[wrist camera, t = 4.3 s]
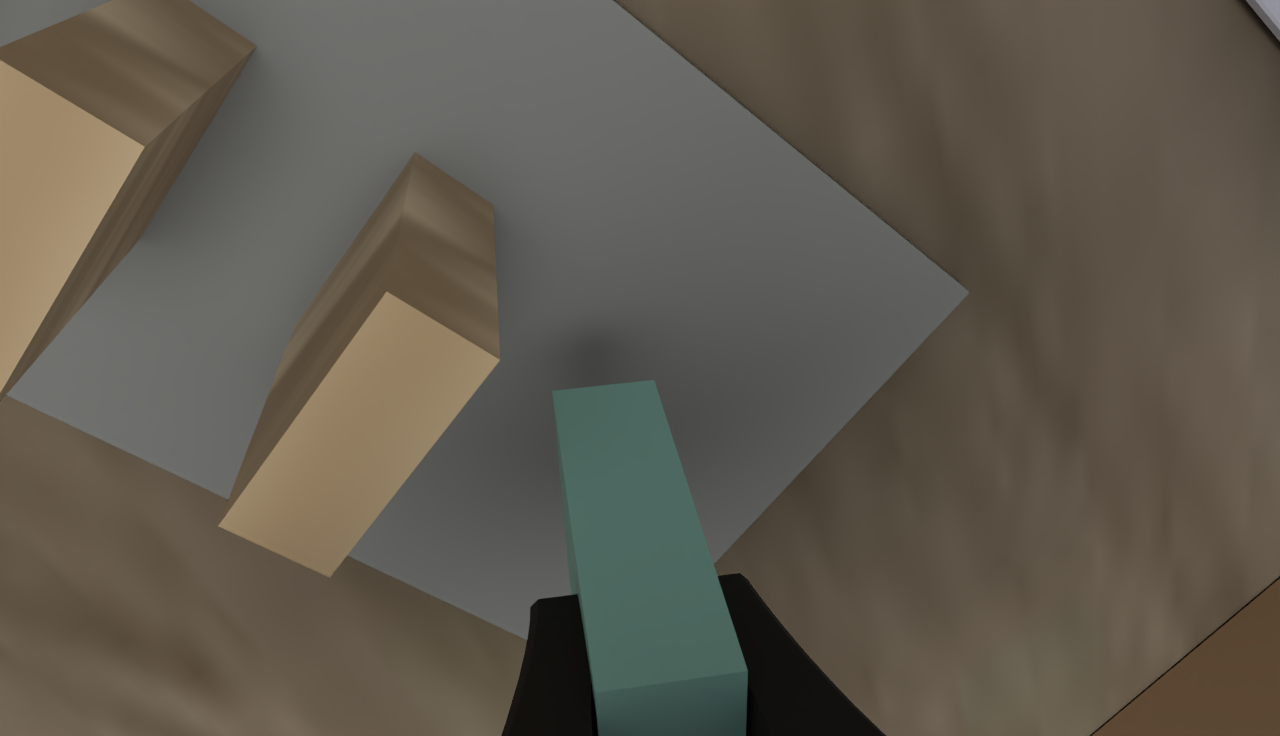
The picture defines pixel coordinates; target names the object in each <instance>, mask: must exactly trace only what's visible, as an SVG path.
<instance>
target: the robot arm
mask: <svg viewBox="0 0 1280 736" xmlns="http://www.w3.org/2000/svg"><path fill="white" fill-rule="evenodd" d="M1246 1H1247V3H1248V4H1249V5H1250V6H1251V7H1252V9H1253V10H1254V11H1255V12H1256V13H1257V15H1258V16H1259V17H1260V18H1261V19H1262V21H1263V22H1264V23H1265V24H1266V25H1267V27H1268V28H1269V29H1270V30H1271V32H1272V33H1273V34H1274V35H1275V36H1276V38H1277V39H1278V40H1279V41H1280V0H1246ZM717 577H718V580H719V583H720V586H721V589H722V592H723V595H724V598H725V601H726V604H727V608H728V611H729V614H730V617H731V620H732V623H733V626H734V629H735V632H736V635H737V639H738V642H739V645H740V648H741V651H742V654H743V657H744V660H745V663H746V666H747V670H748V685H747V718H746V736H886V735H885V734H884V733H883V732H881V731H880V730H879V729H878V728H877V727H876V726H875V725H874V724H873V723H872V722H871V721H870V720H869V719H868V718H867V717H866V716H865V715H864V714H863V713H862V712H861V711H860V710H859V709H858V708H857V707H856V706H855V705H854V704H853V703H852V702H851V701H850V700H849V699H848V698H847V697H846V696H845V695H844V694H843V693H842V692H841V691H840V690H839V689H838V688H837V687H836V686H835V684H834V683H833V682H832V681H831V680H830V679H829V678H828V677H827V676H826V675H825V673H824V672H823V671H822V670H821V669H820V668H819V667H818V666H817V665H816V664H815V663H814V661H813V660H812V659H811V658H810V657H809V656H808V655H807V654H806V653H805V651H804V650H803V649H802V648H801V647H800V646H799V644H798V643H797V642H796V641H795V640H794V639H793V637H792V636H791V635H790V634H789V632H788V631H787V630H786V629H785V628H784V626H783V625H782V624H781V623H780V622H779V620H778V619H777V618H776V617H775V615H774V614H773V613H772V612H771V610H770V609H769V608H768V606H767V605H766V604H765V603H764V601H763V600H762V599H761V597H760V596H759V595H758V593H757V592H756V591H755V589H754V588H753V586H752V585H751V584H750V582H749V581H748V579H746V578H745V577H744V576H743V575H741V574H740V573H738V574H730V575H722V576H717ZM502 736H596V731H595V719H594V708H593V696H592V684H591V674H590V667H589V661H588V654H587V648H586V641H585V635H584V629H583V622H582V616H581V610H580V604H579V598H578V594H574V595H566V596H559V597H551V598H543V599H538V600H537V601H536V602H535V603H534V604H533V605H532V606H531V607H530V624H529V632H528V639H527V645H526V650H525V655H524V659H523V663H522V668H521V672H520V676H519V680H518V684H517V687H516V690H515V694H514V697H513V700H512V704H511V707H510V711H509V714H508V717H507V721H506V724H505V727H504V730H503V733H502Z"/></svg>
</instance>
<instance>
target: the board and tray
mask: <svg viewBox="0 0 1280 736" xmlns="http://www.w3.org/2000/svg"><path fill="white" fill-rule="evenodd" d="M109 1H112V0H0V47H2V46H4V45H6V44H9V43H11V42H13V41H16V40H18V39H21V38H23V37H25V36H28V35H30V34H33V33H35V32H37V31H40V30H42V29H45V28H47V27H49V26H52V25H54V24H57V23H59V22H61V21H64V20H66V19H68V18H71V17H73V16H76V15H78V14H80V13H83V12H85V11H88V10H90V9H92V8H95V7H97V6H100V5H102V4H104V3H107V2H109ZM189 1H191V2H192V3H194V4H195V5H197V6H198V7H200V8H201V9H203V10H204V11H206V12H207V13H209V14H210V15H212V16H213V17H214V18H216V19H217V20H219V21H220V22H222V23H223V24H225V25H226V26H228V27H229V28H231V29H232V30H234V31H235V32H237V33H238V34H240V35H241V36H243V37H244V38H246V39H247V40H249V41H250V42H252V43H253V44H255V45H256V46H257V47H256V48H255V50H254V51H253V53H252V55H251V56H250V58H249V60H248V61H247V63H246V65H245V66H244V68H243V70H242V71H241V73H240V75H239V76H238V78H237V80H236V81H235V83H234V84H233V86H232V88H231V89H230V91H229V93H228V94H227V96H226V98H225V99H224V101H223V103H222V104H221V106H220V108H219V109H218V111H217V113H216V114H215V116H214V118H213V119H212V121H211V122H210V124H209V126H208V127H207V129H206V131H205V132H204V134H203V136H202V137H201V139H200V141H199V142H198V144H197V146H196V147H195V149H194V151H193V152H192V154H191V155H190V157H189V159H188V160H187V162H186V164H185V165H184V167H183V169H182V170H181V172H180V174H179V175H178V177H177V179H176V180H175V182H174V184H173V185H172V187H171V188H170V190H169V192H168V193H167V195H166V197H165V198H164V200H163V202H162V203H161V205H160V207H159V208H158V210H157V212H156V213H155V215H154V217H153V218H152V220H151V222H150V223H149V225H148V226H147V228H146V230H145V231H144V233H143V235H142V236H141V238H140V240H139V241H138V242H137V243H136V244H135V246H134V247H133V248H132V249H131V250H130V251H129V253H128V254H127V255H126V256H125V257H124V258H123V260H122V261H121V262H120V263H119V264H118V265H117V267H116V268H115V269H114V270H113V271H112V272H111V274H110V275H109V276H108V277H107V278H106V279H105V280H104V282H103V283H102V284H101V285H100V286H99V287H98V289H97V290H96V291H95V292H94V293H93V294H92V296H91V297H90V298H89V299H88V300H87V301H86V303H85V304H84V305H83V306H82V307H81V308H80V310H79V311H78V312H77V313H76V314H75V315H74V316H73V318H72V319H71V320H70V321H69V322H68V323H67V325H66V326H65V327H64V328H63V329H62V330H61V332H60V333H59V334H58V335H57V336H56V337H55V339H54V340H53V341H52V342H51V343H50V344H49V346H48V347H47V348H46V349H45V350H44V351H43V352H42V354H41V355H40V356H39V357H38V358H37V359H36V361H35V362H34V363H33V364H32V365H31V366H30V368H29V369H28V370H27V371H26V372H25V373H24V375H23V376H22V377H21V378H20V379H19V380H18V382H17V383H16V384H15V385H14V386H13V387H12V388H11V390H10V391H9V392H8V393H7V394H6V395H7V396H9V397H12V398H14V399H16V400H18V401H20V402H22V403H24V404H26V405H28V406H31V407H33V408H35V409H37V410H39V411H41V412H43V413H45V414H48V415H50V416H52V417H54V418H56V419H58V420H60V421H62V422H65V423H67V424H69V425H71V426H73V427H75V428H77V429H79V430H82V431H84V432H86V433H88V434H90V435H92V436H94V437H96V438H99V439H101V440H103V441H105V442H107V443H109V444H111V445H113V446H116V447H118V448H120V449H122V450H124V451H126V452H128V453H130V454H133V455H135V456H137V457H139V458H141V459H143V460H145V461H147V462H150V463H152V464H154V465H156V466H158V467H160V468H162V469H164V470H167V471H169V472H171V473H173V474H175V475H177V476H179V477H181V478H184V479H186V480H188V481H190V482H192V483H194V484H196V485H198V486H201V487H203V488H205V489H207V490H209V491H211V492H213V493H215V494H218V495H220V496H222V497H224V498H226V499H229V496H230V494H231V491H232V489H233V486H234V483H235V481H236V478H237V475H238V473H239V470H240V468H241V465H242V462H243V460H244V457H245V454H246V452H247V449H248V447H249V444H250V441H251V439H252V436H253V434H254V431H255V428H256V426H257V423H258V420H259V418H260V415H261V413H262V410H263V407H264V405H265V402H266V399H267V397H268V394H269V392H270V389H271V386H272V384H273V381H274V379H275V376H276V373H277V371H278V368H279V365H280V363H281V360H282V358H283V355H284V352H285V350H286V347H287V344H288V342H289V339H290V337H291V334H292V331H293V329H294V326H295V325H296V324H297V322H298V321H299V319H300V318H301V316H302V315H303V313H304V312H305V311H306V309H307V308H308V306H309V305H310V303H311V302H312V300H313V299H314V298H315V296H316V295H317V293H318V292H319V290H320V289H321V287H322V286H323V285H324V283H325V282H326V280H327V279H328V277H329V276H330V274H331V273H332V272H333V270H334V269H335V267H336V266H337V264H338V263H339V261H340V260H341V259H342V257H343V256H344V254H345V253H346V251H347V250H348V248H349V247H350V246H351V244H352V243H353V241H354V240H355V238H356V237H357V235H358V234H359V233H360V231H361V230H362V228H363V227H364V225H365V224H366V222H367V221H368V220H369V218H370V217H371V215H372V214H373V212H374V211H375V209H376V208H377V207H378V205H379V204H380V202H381V201H382V199H383V198H384V196H385V195H386V194H387V192H388V191H389V189H390V188H391V186H392V185H393V183H394V182H395V181H396V179H397V178H398V176H399V175H400V173H401V172H402V170H403V169H404V168H405V166H406V165H407V163H408V162H409V160H410V159H411V157H412V156H413V155H414V153H415V152H416V153H417V154H419V155H420V156H422V157H423V158H425V159H426V160H428V161H429V162H431V163H432V164H433V165H435V166H436V167H438V168H439V169H441V170H442V171H444V172H445V173H447V174H448V175H450V176H451V177H453V178H454V179H456V180H457V181H459V182H460V183H462V184H463V185H465V186H466V187H467V188H469V189H470V190H472V191H473V192H475V193H476V194H478V195H479V196H481V197H482V198H484V199H485V200H487V201H488V202H490V203H491V204H493V211H494V233H495V255H496V278H497V300H498V323H499V345H500V361H499V362H498V363H497V365H496V366H495V367H494V368H493V370H492V371H491V372H490V374H489V375H488V376H487V377H486V379H485V380H484V381H483V382H482V384H481V385H480V386H479V388H478V389H477V390H476V391H475V393H474V394H473V395H472V397H471V398H470V399H469V400H468V402H467V403H466V404H465V405H464V407H463V408H462V409H461V411H460V412H459V413H458V414H457V416H456V417H455V418H454V419H453V421H452V422H451V423H450V425H449V426H448V427H447V428H446V430H445V431H444V432H443V434H442V435H441V436H440V437H439V439H438V440H437V441H436V442H435V444H434V445H433V446H432V448H431V449H430V450H429V451H428V453H427V454H426V455H425V457H424V458H423V459H422V460H421V462H420V463H419V464H418V465H417V467H416V468H415V469H414V471H413V472H412V473H411V474H410V476H409V477H408V478H407V479H406V481H405V482H404V483H403V485H402V486H401V487H400V488H399V490H398V491H397V492H396V494H395V495H394V496H393V497H392V499H391V500H390V501H389V502H388V504H387V505H386V506H385V508H384V509H383V510H382V511H381V513H380V514H379V515H378V517H377V518H376V519H375V520H374V522H373V523H372V524H371V525H370V527H369V528H368V529H367V531H366V532H365V533H364V534H363V536H362V537H361V538H360V539H359V541H358V542H357V543H356V545H355V546H354V547H353V548H352V550H351V551H350V552H349V554H348V555H347V556H349V557H351V558H353V559H356V560H358V561H360V562H362V563H364V564H366V565H368V566H370V567H373V568H375V569H377V570H379V571H381V572H383V573H385V574H387V575H390V576H392V577H394V578H396V579H398V580H400V581H402V582H404V583H407V584H409V585H411V586H413V587H415V588H417V589H419V590H421V591H424V592H426V593H428V594H430V595H432V596H434V597H436V598H438V599H441V600H443V601H445V602H447V603H449V604H451V605H453V606H455V607H458V608H460V609H462V610H464V611H466V612H468V613H470V614H472V615H475V616H477V617H479V618H481V619H483V620H485V621H487V622H489V623H492V624H494V625H496V626H498V627H500V628H502V629H504V630H506V631H509V632H511V633H513V634H515V635H517V636H519V637H521V638H523V639H526V640H527V639H528V632H529V624H530V607H531V606H532V605H533V604H534V603H535V602H536V601H537V600H538V599H543V598H551V597H559V596H566V595H571V588H570V578H569V568H568V557H567V546H566V536H565V525H564V514H563V503H562V493H561V482H560V471H559V461H558V450H557V439H556V428H555V418H554V407H553V396H552V391H556V390H565V389H574V388H583V387H593V386H602V385H611V384H620V383H630V382H639V381H648V380H654V381H655V384H656V387H657V390H658V394H659V397H660V400H661V403H662V406H663V409H664V412H665V415H666V418H667V421H668V425H669V428H670V431H671V434H672V437H673V440H674V443H675V446H676V449H677V452H678V456H679V459H680V462H681V465H682V468H683V471H684V474H685V477H686V480H687V483H688V487H689V490H690V493H691V496H692V499H693V502H694V505H695V508H696V511H697V515H698V518H699V521H700V524H701V527H702V530H703V533H704V536H705V539H706V542H707V546H708V549H709V552H710V555H711V558H712V561H713V564H715V563H716V562H717V560H718V559H719V558H720V557H721V556H722V555H723V554H724V553H725V552H726V551H727V550H728V549H729V548H730V547H731V546H732V545H733V543H734V542H735V541H736V540H737V539H738V538H739V537H740V536H741V535H742V534H743V533H744V532H745V531H746V530H747V529H748V528H749V526H750V525H751V524H752V523H753V522H754V521H755V520H756V519H757V518H758V517H759V516H760V515H761V514H762V513H763V512H764V511H765V509H766V508H767V507H768V506H769V505H770V504H771V503H772V502H773V501H774V500H775V499H776V498H777V497H778V496H779V495H780V494H781V492H782V491H783V490H784V489H785V488H786V487H787V486H788V485H789V484H790V483H791V482H792V481H793V480H794V479H795V478H796V477H797V475H798V474H799V473H800V472H801V471H802V470H803V469H804V468H805V467H806V466H807V465H808V464H809V463H810V462H811V461H812V460H813V458H814V457H815V456H816V455H817V454H818V453H819V452H820V451H821V450H822V449H823V448H824V447H825V446H826V445H827V444H828V443H829V441H830V440H831V439H832V438H833V437H834V436H835V435H836V434H837V433H838V432H839V431H840V430H841V429H842V428H843V427H844V426H845V424H846V423H847V422H848V421H849V420H850V419H851V418H852V417H853V416H854V415H855V414H856V413H857V412H858V411H859V410H860V409H861V407H862V406H863V405H864V404H865V403H866V402H867V401H868V400H869V399H870V398H871V397H872V396H873V395H874V394H875V393H876V392H877V390H878V389H879V388H880V387H881V386H882V385H883V384H884V383H885V382H886V381H887V380H888V379H889V378H890V377H891V376H892V375H893V373H894V372H895V371H896V370H897V369H898V368H899V367H900V366H901V365H902V364H903V363H904V362H905V361H906V360H907V359H908V358H909V356H910V355H911V354H912V353H913V352H914V351H915V350H916V349H917V348H918V347H919V346H920V345H921V344H922V343H923V342H924V341H925V339H926V338H927V337H928V336H929V335H930V334H931V333H932V332H933V331H934V330H935V329H936V328H937V327H938V326H939V325H940V324H941V322H942V321H943V320H944V319H945V318H946V317H947V316H948V315H949V314H950V313H951V312H952V311H953V310H954V309H955V308H956V307H957V305H958V304H959V303H960V302H961V301H962V300H963V299H964V298H965V297H966V296H967V295H968V294H969V293H970V292H969V291H968V290H967V289H966V288H965V287H964V286H963V285H962V284H960V283H959V282H958V281H957V280H955V279H954V278H953V277H952V276H951V275H949V274H948V273H947V272H946V271H944V270H943V269H942V268H941V267H940V266H938V265H937V264H936V263H935V262H933V261H932V260H931V259H930V258H929V257H927V256H926V255H925V254H924V253H922V252H921V251H920V250H919V249H918V248H916V247H915V246H914V245H913V244H911V243H910V242H909V241H908V240H907V239H905V238H904V237H903V236H902V235H900V234H899V233H898V232H897V231H896V230H894V229H893V228H892V227H891V226H889V225H888V224H887V223H886V222H885V221H883V220H882V219H881V218H880V217H878V216H877V215H876V214H875V213H874V212H872V211H871V210H870V209H869V208H867V207H866V206H865V205H864V204H863V203H861V202H860V201H859V200H858V199H856V198H855V197H854V196H853V195H851V194H850V193H849V192H848V191H847V190H845V189H844V188H843V187H842V186H840V185H839V184H838V183H837V182H836V181H834V180H833V179H832V178H831V177H829V176H828V175H827V174H826V173H825V172H823V171H822V170H821V169H820V168H818V167H817V166H816V165H815V164H814V163H812V162H811V161H810V160H809V159H807V158H806V157H805V156H804V155H803V154H801V153H800V152H799V151H798V150H796V149H795V148H794V147H793V146H792V145H790V144H789V143H788V142H787V141H785V140H784V139H783V138H782V137H781V136H779V135H778V134H777V133H776V132H774V131H773V130H772V129H771V128H770V127H768V126H767V125H766V124H765V123H763V122H762V121H761V120H760V119H759V118H757V117H756V116H755V115H754V114H752V113H751V112H750V111H749V110H748V109H746V108H745V107H744V106H743V105H741V104H740V103H739V102H738V101H737V100H735V99H734V98H733V97H732V96H730V95H729V94H728V93H727V92H726V91H724V90H723V89H722V88H721V87H719V86H718V85H717V84H716V83H715V82H713V81H712V80H711V79H710V78H708V77H707V76H706V75H705V74H704V73H702V72H701V71H700V70H699V69H697V68H696V67H695V66H694V65H693V64H691V63H690V62H689V61H688V60H686V59H685V58H684V57H683V56H682V55H680V54H679V53H678V52H677V51H675V50H674V49H673V48H672V47H671V46H669V45H668V44H667V43H666V42H664V41H663V40H662V39H661V38H660V37H658V36H657V35H656V34H655V33H653V32H652V31H651V30H650V29H649V28H647V27H646V26H645V25H644V24H642V23H641V22H640V21H639V20H638V19H636V18H635V17H634V16H633V15H631V14H630V13H629V12H628V11H627V10H625V9H624V8H623V7H622V6H620V5H619V4H618V3H617V2H616V1H614V0H189ZM1092 736H1280V579H1278V580H1277V581H1276V582H1275V583H1274V584H1272V585H1271V586H1270V587H1269V588H1268V589H1266V590H1265V591H1264V592H1263V593H1262V594H1261V595H1259V596H1258V597H1257V598H1256V599H1255V600H1253V601H1252V602H1251V603H1250V604H1249V605H1247V606H1246V607H1245V608H1244V609H1243V610H1241V611H1240V612H1239V613H1238V614H1237V615H1235V616H1234V617H1233V618H1232V619H1231V620H1229V621H1228V622H1227V623H1226V624H1225V625H1223V626H1222V627H1221V628H1220V629H1219V630H1218V631H1216V632H1215V633H1214V634H1213V635H1212V636H1210V637H1209V638H1208V639H1207V640H1206V641H1204V642H1203V643H1202V644H1201V645H1200V646H1198V647H1197V648H1196V649H1195V650H1194V651H1192V652H1191V653H1190V654H1189V655H1188V656H1186V657H1185V658H1184V659H1183V660H1182V661H1180V662H1179V663H1178V664H1177V665H1176V666H1174V667H1173V668H1172V669H1171V670H1170V671H1169V672H1167V673H1166V674H1165V675H1164V676H1163V677H1161V678H1160V679H1159V680H1158V681H1157V682H1155V683H1154V684H1153V685H1152V686H1151V687H1149V688H1148V689H1147V690H1146V691H1145V692H1143V693H1142V694H1141V695H1140V696H1139V697H1137V698H1136V699H1135V700H1134V701H1133V702H1131V703H1130V704H1129V705H1128V706H1127V707H1126V708H1124V709H1123V710H1122V711H1121V712H1120V713H1118V714H1117V715H1116V716H1115V717H1114V718H1112V719H1111V720H1110V721H1109V722H1108V723H1106V724H1105V725H1104V726H1103V727H1102V728H1100V729H1099V730H1098V731H1097V732H1096V733H1094V734H1093V735H1092Z"/></svg>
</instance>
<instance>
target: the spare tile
mask: <svg viewBox="0 0 1280 736" xmlns="http://www.w3.org/2000/svg"><path fill="white" fill-rule="evenodd" d="M552 396H553V407H554V418H555V428H556V439H557V450H558V461H559V471H560V482H561V493H562V503H563V514H564V525H565V536H566V546H567V557H568V568H569V578H570V588H571V595H574V594H578V598H579V604H580V610H581V616H582V622H583V629H584V635H585V641H586V648H587V654H588V661H589V667H590V674H591V684H592V696H593V708H594V719H595V731H596V736H746V718H747V685H748V670H747V666H746V663H745V660H744V657H743V654H742V651H741V648H740V645H739V642H738V639H737V635H736V632H735V629H734V626H733V623H732V620H731V617H730V614H729V611H728V608H727V604H726V601H725V598H724V595H723V592H722V589H721V586H720V583H719V580H718V577H717V573H716V570H715V567H714V564H713V561H712V558H711V555H710V552H709V549H708V546H707V542H706V539H705V536H704V533H703V530H702V527H701V524H700V521H699V518H698V515H697V511H696V508H695V505H694V502H693V499H692V496H691V493H690V490H689V487H688V483H687V480H686V477H685V474H684V471H683V468H682V465H681V462H680V459H679V456H678V452H677V449H676V446H675V443H674V440H673V437H672V434H671V431H670V428H669V425H668V421H667V418H666V415H665V412H664V409H663V406H662V403H661V400H660V397H659V394H658V390H657V387H656V384H655V381H654V380H648V381H639V382H630V383H620V384H611V385H602V386H593V387H583V388H574V389H565V390H556V391H552Z"/></svg>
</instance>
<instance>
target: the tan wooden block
mask: <svg viewBox="0 0 1280 736" xmlns="http://www.w3.org/2000/svg"><path fill="white" fill-rule="evenodd" d="M256 47H257V46H256V45H255V44H253V43H252V42H250V41H249V40H247V39H246V38H244V37H243V36H241V35H240V34H238V33H237V32H235V31H234V30H232V29H231V28H229V27H228V26H226V25H225V24H223V23H222V22H220V21H219V20H217V19H216V18H214V17H213V16H212V15H210V14H209V13H207V12H206V11H204V10H203V9H201V8H200V7H198V6H197V5H195V4H194V3H192V2H191V1H189V0H112V1H109V2H107V3H104V4H102V5H100V6H97V7H95V8H92V9H90V10H88V11H85V12H83V13H80V14H78V15H76V16H73V17H71V18H68V19H66V20H64V21H61V22H59V23H57V24H54V25H52V26H49V27H47V28H45V29H42V30H40V31H37V32H35V33H33V34H30V35H28V36H25V37H23V38H21V39H18V40H16V41H13V42H11V43H9V44H6V45H4V46H2V47H0V401H1V400H2V399H3V398H4V397H5V395H6V394H7V393H8V392H9V391H10V390H11V388H12V387H13V386H14V385H15V384H16V383H17V382H18V380H19V379H20V378H21V377H22V376H23V375H24V373H25V372H26V371H27V370H28V369H29V368H30V366H31V365H32V364H33V363H34V362H35V361H36V359H37V358H38V357H39V356H40V355H41V354H42V352H43V351H44V350H45V349H46V348H47V347H48V346H49V344H50V343H51V342H52V341H53V340H54V339H55V337H56V336H57V335H58V334H59V333H60V332H61V330H62V329H63V328H64V327H65V326H66V325H67V323H68V322H69V321H70V320H71V319H72V318H73V316H74V315H75V314H76V313H77V312H78V311H79V310H80V308H81V307H82V306H83V305H84V304H85V303H86V301H87V300H88V299H89V298H90V297H91V296H92V294H93V293H94V292H95V291H96V290H97V289H98V287H99V286H100V285H101V284H102V283H103V282H104V280H105V279H106V278H107V277H108V276H109V275H110V274H111V272H112V271H113V270H114V269H115V268H116V267H117V265H118V264H119V263H120V262H121V261H122V260H123V258H124V257H125V256H126V255H127V254H128V253H129V251H130V250H131V249H132V248H133V247H134V246H135V244H136V243H137V242H138V241H139V240H140V238H141V236H142V235H143V233H144V231H145V230H146V228H147V226H148V225H149V223H150V222H151V220H152V218H153V217H154V215H155V213H156V212H157V210H158V208H159V207H160V205H161V203H162V202H163V200H164V198H165V197H166V195H167V193H168V192H169V190H170V188H171V187H172V185H173V184H174V182H175V180H176V179H177V177H178V175H179V174H180V172H181V170H182V169H183V167H184V165H185V164H186V162H187V160H188V159H189V157H190V155H191V154H192V152H193V151H194V149H195V147H196V146H197V144H198V142H199V141H200V139H201V137H202V136H203V134H204V132H205V131H206V129H207V127H208V126H209V124H210V122H211V121H212V119H213V118H214V116H215V114H216V113H217V111H218V109H219V108H220V106H221V104H222V103H223V101H224V99H225V98H226V96H227V94H228V93H229V91H230V89H231V88H232V86H233V84H234V83H235V81H236V80H237V78H238V76H239V75H240V73H241V71H242V70H243V68H244V66H245V65H246V63H247V61H248V60H249V58H250V56H251V55H252V53H253V51H254V50H255V48H256Z"/></svg>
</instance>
